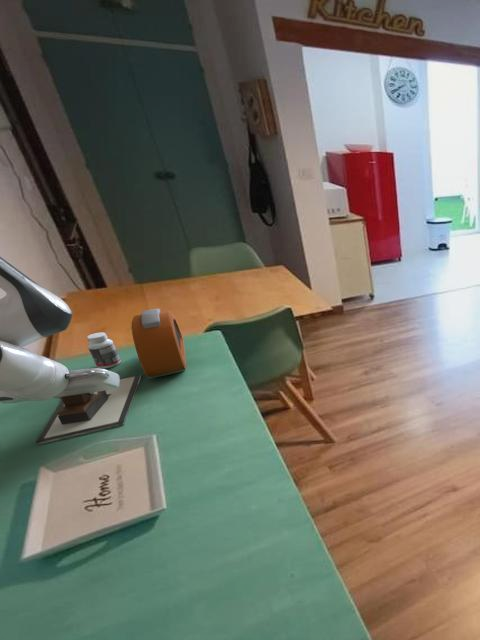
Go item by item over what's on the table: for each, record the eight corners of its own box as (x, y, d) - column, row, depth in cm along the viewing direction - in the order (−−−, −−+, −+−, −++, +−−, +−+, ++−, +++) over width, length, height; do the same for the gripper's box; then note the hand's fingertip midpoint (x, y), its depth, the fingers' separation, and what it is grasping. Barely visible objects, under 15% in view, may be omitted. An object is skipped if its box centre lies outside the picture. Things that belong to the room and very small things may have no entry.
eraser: (90, 420, 99) (74, 388, 95) (61, 424, 97) (44, 392, 94) (108, 398, 108) (94, 367, 104) (83, 401, 106) (67, 371, 102)
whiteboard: (36, 445, 92) (34, 443, 92) (70, 389, 112) (69, 387, 112) (124, 424, 99) (123, 422, 99) (141, 375, 119) (140, 373, 119)
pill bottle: (93, 366, 123) (79, 336, 118) (115, 358, 127) (102, 329, 123) (103, 370, 121) (89, 340, 116) (125, 362, 125) (112, 333, 121)
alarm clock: (188, 375, 120) (169, 322, 113) (148, 384, 115) (126, 329, 108) (185, 344, 137) (169, 297, 129) (150, 351, 132) (131, 302, 125)
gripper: (100, 357, 93) (133, 374, 106) (-25, 372, 86) (26, 388, 99) (99, 384, 92) (133, 398, 104) (-29, 402, 85) (24, 414, 97)
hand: (80, 393), depth 101 cm, fingers closed on eraser, 4 cm apart
